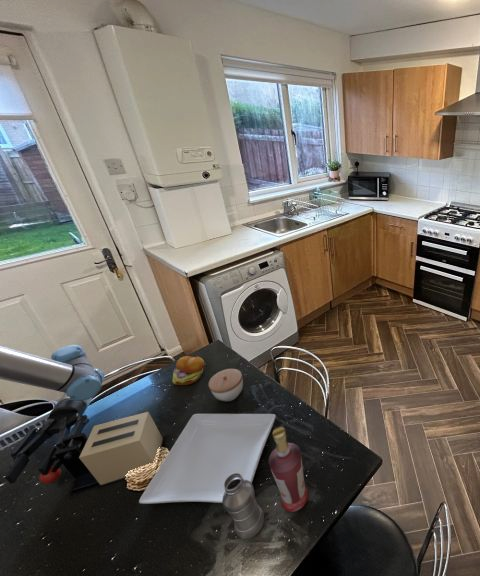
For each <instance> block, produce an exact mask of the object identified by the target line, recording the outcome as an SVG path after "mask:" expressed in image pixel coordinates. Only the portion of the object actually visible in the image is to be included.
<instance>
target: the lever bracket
mask: <svg viewBox="0 0 480 576" xmlns="http://www.w3.org/2000/svg"><path fill="white" fill-rule="evenodd" d="M88 438H89V437H88V436H87V435H86V433H85V432H83V431H82V432H81V433H79V434H76V435H72V436H69V435H68V437H64V438H63V439H62V442H63V443H64V444H65V446H67V445H68V443H69V442H70V441H71V440H72V439H74V440H80V441H82V443H81V446H80V448H79V447H78V445H76V446H72V447H68V448H65V449H61V450H58V451H56V452H55V454H54V455H55V456H56V457H57V458H58V461H60V462H61V463H62V466H63V467H64V468H65V469H66V470H67V472H69V474H70V475H71V476H72V477H73V478H74V479H75V481H74V483H73V485H72V488H71V489H70V490H71V493H77V492H80V491H84V490H87V489H90V488H94V487H96V486H100V484H99V482H98V481H97V480H96V479H95V477H94V476H93V475H92V473H91V472H90V471H89V470H88V468H87V467H86V466H85V465H84V463H83V462H82V461H81V459H80V458H79V457H80V455H81V453H82V450H83V448H84V446H85V444H86V442H87V440H88Z"/></svg>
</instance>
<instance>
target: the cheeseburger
mask: <svg viewBox="0 0 480 576" xmlns="http://www.w3.org/2000/svg"><path fill="white" fill-rule="evenodd" d="M204 368H205V360H204V359H203V358H202V357H200V356H195V355H194V356H190V355H185V356H181V357H180V358H179V359H177V361H176V363H175V368H174V369H173V373H172V383H173V384H174V385H175V386H188V385H193V384H194V383H196V382H197V381H198V380H199V379H201V376H202V374H203V372H204Z"/></svg>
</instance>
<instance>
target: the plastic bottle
mask: <svg viewBox="0 0 480 576" xmlns="http://www.w3.org/2000/svg"><path fill="white" fill-rule="evenodd" d="M224 488H225V492H224V494H223V500H222V503H221V504H222V507H223V508H224V510H225V511H226V512H227V513H228V514H229V515H230V517H231V518H232V520H233V524H234V531H235V533H236V536H237V537H239V538H240V539H242V540H249V539H251V538H254V537H255V536H256V535H257V534H258V533H259V532H260V531H261V530H262V528H263V527H264V526H263V525H264V523H265V512H264V510H263V509H262V507H260V505H259V504H258V502H257V501H256V496H255V495H256V494H255V489H254V485H253V482H252V483H251V482H250V481H248V480H246V479H243V478H242V475H241V474H239V473H234V474H231V475H230V476H229V477H228V478H227V479H226V480H225V482H224Z"/></svg>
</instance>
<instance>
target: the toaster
mask: <svg viewBox="0 0 480 576" xmlns="http://www.w3.org/2000/svg"><path fill="white" fill-rule="evenodd" d="M87 438H88V440H87V442H86V444H85V446H84V448H83V450H82V453H81V455H80V457H79V458H80V459H81V461H82V462H83V463H84V465H85V466H86V467H87V468H88V470H89V471H90V472H91V473H92V475H93V476H94V477H95V479H96V480H97V481H98V482H99V484H100V485H99V486H100V487H102V486H106V485H108V484H112V483H115V482H119V481H122V480H125V479H127V478H126V476H125V475H126V474H127V473H128V471H130V470H132V469H135V468H138V467H140V466H143V465H146V464H149V463H153V461H154V458H155V455H156V452H157V449H158V448H159V447H160V448H161V449H162V447H163V444H164V440H165V438H164V437H163V436H162V434H161V432H160V431H159V429H158V426H157V424H156V423H155V421H154V419H153V417H152V416H151V414H150V412H149V411H145V412H142V413H138V414H133V415H130V416H126V417H122V418H118V419H115V420H110V421H107V422H104V423H100V424H96V425H94V426H93V427H92V429H91V432H90V434H89V435H88V437H87Z"/></svg>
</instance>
